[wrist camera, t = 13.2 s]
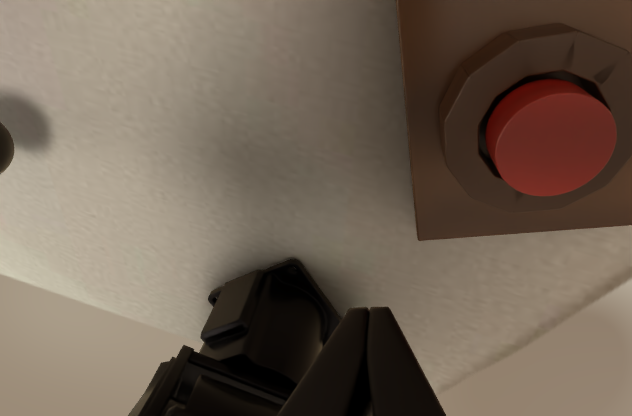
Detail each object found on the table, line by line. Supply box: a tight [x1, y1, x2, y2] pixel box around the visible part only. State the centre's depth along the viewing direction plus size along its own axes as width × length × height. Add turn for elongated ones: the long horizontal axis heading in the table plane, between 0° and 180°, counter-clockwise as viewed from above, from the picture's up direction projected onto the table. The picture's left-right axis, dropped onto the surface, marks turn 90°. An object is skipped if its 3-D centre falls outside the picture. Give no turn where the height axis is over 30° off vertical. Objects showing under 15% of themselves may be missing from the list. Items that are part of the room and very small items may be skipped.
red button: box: [485, 79, 617, 196], centre depth 14 cm, size 4×4×2 cm
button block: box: [396, 0, 632, 241], centre depth 16 cm, size 11×9×4 cm
